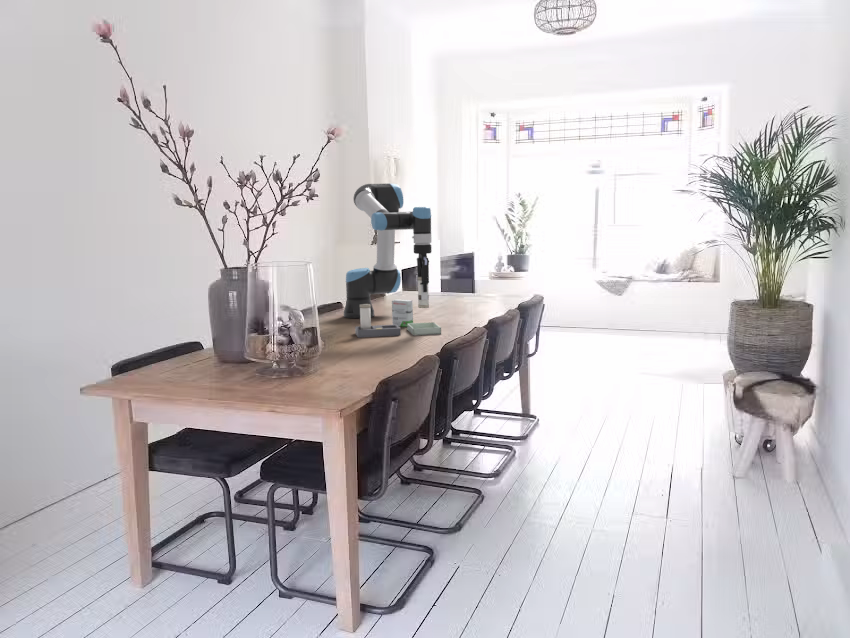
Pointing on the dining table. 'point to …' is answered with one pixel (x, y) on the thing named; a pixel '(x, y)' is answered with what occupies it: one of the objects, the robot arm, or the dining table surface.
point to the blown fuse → (420, 302)
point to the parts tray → (423, 328)
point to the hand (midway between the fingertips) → (423, 298)
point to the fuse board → (378, 331)
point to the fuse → (365, 316)
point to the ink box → (402, 312)
